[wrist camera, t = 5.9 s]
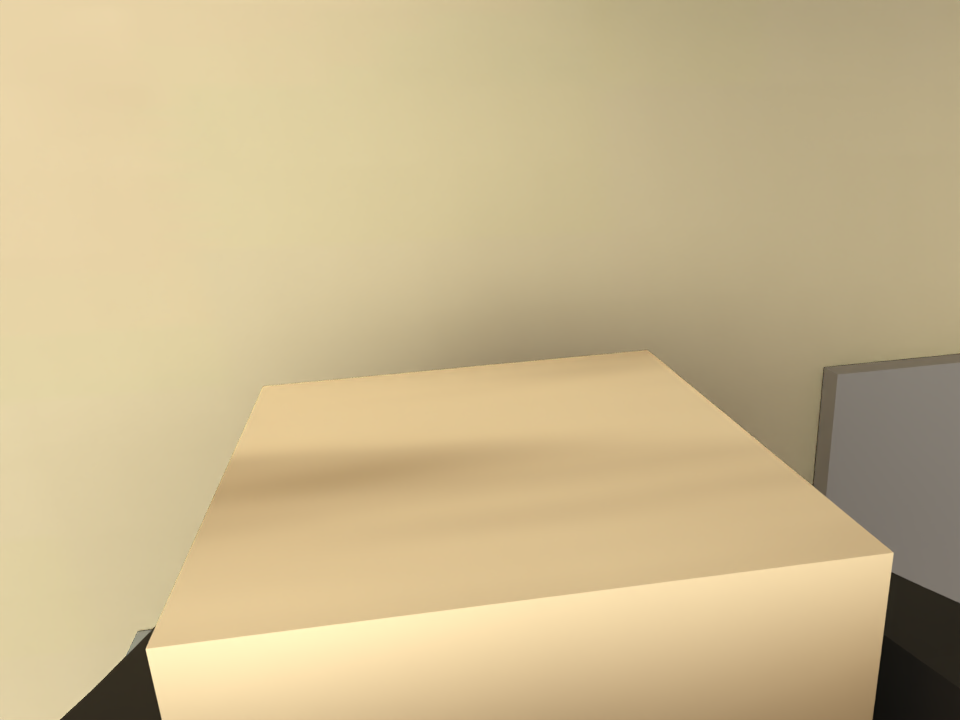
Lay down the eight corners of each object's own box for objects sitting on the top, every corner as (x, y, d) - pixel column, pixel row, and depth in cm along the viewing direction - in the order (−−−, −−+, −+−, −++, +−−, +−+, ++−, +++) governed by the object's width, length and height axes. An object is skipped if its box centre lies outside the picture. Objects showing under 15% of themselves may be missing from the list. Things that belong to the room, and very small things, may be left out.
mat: (1051, 593, 23) (1068, 606, 22) (800, 628, 22) (812, 642, 21) (1104, 339, 20) (1126, 345, 19) (824, 367, 19) (837, 374, 19)
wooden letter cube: (649, 661, 11) (842, 1037, 7) (312, 708, 11) (262, 1152, 6) (654, 349, 10) (907, 551, 5) (262, 386, 9) (145, 649, 5)
